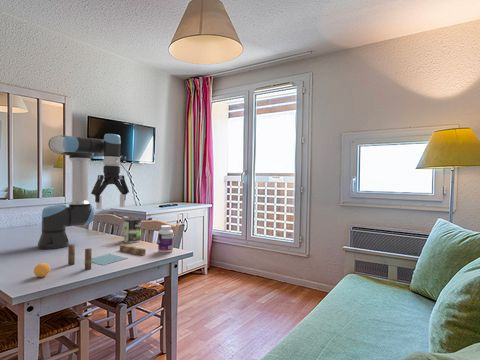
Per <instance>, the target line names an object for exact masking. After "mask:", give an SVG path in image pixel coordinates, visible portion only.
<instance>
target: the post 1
mask: <svg viewBox="0 0 480 360" xmlns="http://www.w3.org/2000/svg"><path fill="white" fill-rule="evenodd" d="M67 247H68V250H67V251H68V252H67V257H68V258H67V265H68V266H72V265H75V258H76V257H75V256H76V254H75V253H76V251H75V250H76V244H69V245H68V246H67Z"/></svg>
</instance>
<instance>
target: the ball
mask: <svg viewBox="0 0 480 360" xmlns="http://www.w3.org/2000/svg"><path fill="white" fill-rule="evenodd" d="M50 270H51V267H50V265H49V263H46V262H42V263H38V264H37V265H36V266H35V267H34V269H33V274H34V275H35V276H36V277H38V278H44V277H46V276H47V275H48V274H49V273H50Z"/></svg>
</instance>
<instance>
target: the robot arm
mask: <svg viewBox="0 0 480 360" xmlns="http://www.w3.org/2000/svg"><path fill="white" fill-rule="evenodd" d="M121 143H122V141H121V136H120V135H119V134H115V133H105V134H104V136H103V139H101V138H91V137H90V138H89V137H84V136H75V135H56V136H55V135H54V136H52V137H51V138H50V139H49V140H48V143H47V144H48V146H47V147H48V148H49V149H50V151H51V152H53V154H54V153H55V154H57V155H61V156H69V157H68V159H69V161H71V163H72V164H71V201H70V203H69V204H68V207H67V205H65V204H57V205H56V204H55V205H50V206H47V207H46V206H45V207H44V208H42V210H41V211H42V212H41V234H40V237H39V240H38V242H37V249H41V250H53V249H54V250H55V249H61V248H62V249H63V248H65V247H68V245H70V244H69V239H68V235H67V233H66V228H69V227H78V226H79V227H80V226H87V225H91V223H92V222H93V220H94V218H95V208H96V210H99V211H100V210H102V208H103V207H102V204H103V203H102V199H103V196H102V193H103V192H104V190H105V189H106V188H107V187H108V186H109V185H114V186H115V187H116V188H117V189H118V191H119V192H120V194H119V208H125V204H126V195H127V194H129V193H130V191H129V187H128V185H127V183H126V180H125V175H123V174H120V173H121V166H120V165H121ZM95 154H97V155H102V156H103V167H102V168H103V174H98V175H97V179H96V182H95V184H94V186H93V188H92V190H91V192H90V193H91V195H93V196H94V197H95V199H94V202H95V204H96V207H94V206H93V205H92V204H91V202H90V201H89V162H90V161H91V160H92V159H91V158H92V157H94V156H95Z"/></svg>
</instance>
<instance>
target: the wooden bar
mask: <svg viewBox="0 0 480 360" xmlns="http://www.w3.org/2000/svg"><path fill="white" fill-rule="evenodd" d="M119 251H120V252H124V253H125V252H126V253H130V254H134V255H138V256H145V255H146V251H147V250H146V248H141V247H138V246H137V247H136V246H132V245H127V244H119Z"/></svg>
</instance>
